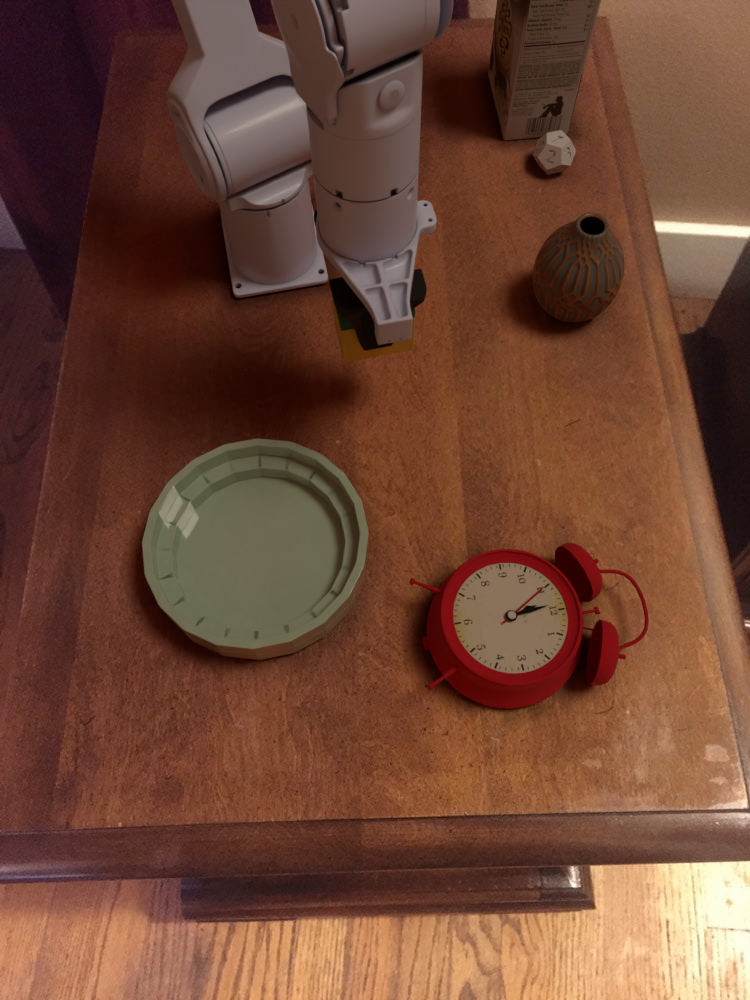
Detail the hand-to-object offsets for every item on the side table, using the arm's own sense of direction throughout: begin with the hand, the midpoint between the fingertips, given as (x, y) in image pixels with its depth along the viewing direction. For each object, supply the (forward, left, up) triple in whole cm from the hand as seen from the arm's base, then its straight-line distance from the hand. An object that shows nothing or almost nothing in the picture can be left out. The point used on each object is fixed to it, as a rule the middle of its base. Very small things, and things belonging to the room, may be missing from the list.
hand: (371, 321), depth 56 cm
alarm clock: (+21, +6, -9) cm, 24 cm away
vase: (-5, +17, -9) cm, 20 cm away
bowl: (+12, -11, -9) cm, 18 cm away
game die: (-20, +20, -9) cm, 30 cm away
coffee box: (-28, +20, -9) cm, 36 cm away
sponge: (0, 0, -2) cm, 2 cm away
